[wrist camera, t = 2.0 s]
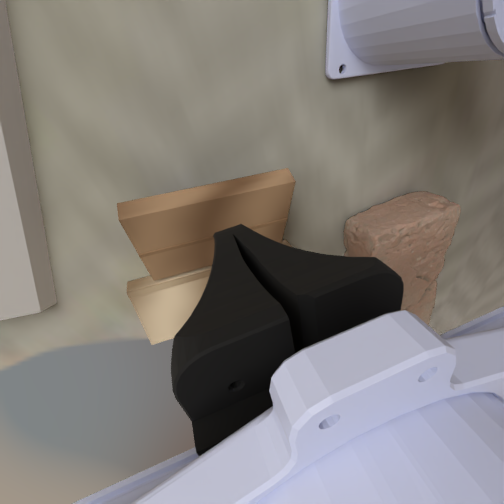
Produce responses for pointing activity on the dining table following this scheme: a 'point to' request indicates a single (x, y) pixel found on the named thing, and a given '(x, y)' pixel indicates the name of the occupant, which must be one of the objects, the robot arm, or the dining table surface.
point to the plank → (204, 219)
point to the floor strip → (168, 301)
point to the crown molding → (19, 200)
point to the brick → (407, 243)
